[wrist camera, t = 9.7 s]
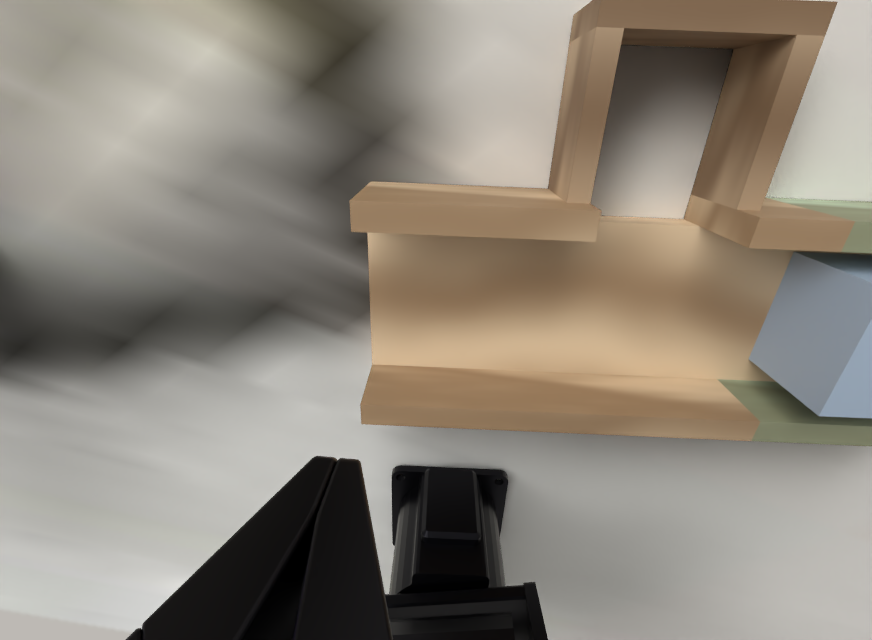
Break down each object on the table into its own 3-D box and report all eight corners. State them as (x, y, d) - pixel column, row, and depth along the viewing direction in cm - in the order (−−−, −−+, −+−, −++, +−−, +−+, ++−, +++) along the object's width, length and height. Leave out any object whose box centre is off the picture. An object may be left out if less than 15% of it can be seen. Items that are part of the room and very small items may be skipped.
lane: (877, 390, 21) (971, 450, 17) (376, 368, 21) (361, 423, 17) (1091, 35, 14) (1319, 7, 11) (365, 7, 15) (337, -30, 11)
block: (860, 363, 19) (956, 421, 15) (748, 359, 19) (818, 416, 15) (919, 256, 17) (1047, 295, 13) (793, 251, 17) (887, 289, 13)
